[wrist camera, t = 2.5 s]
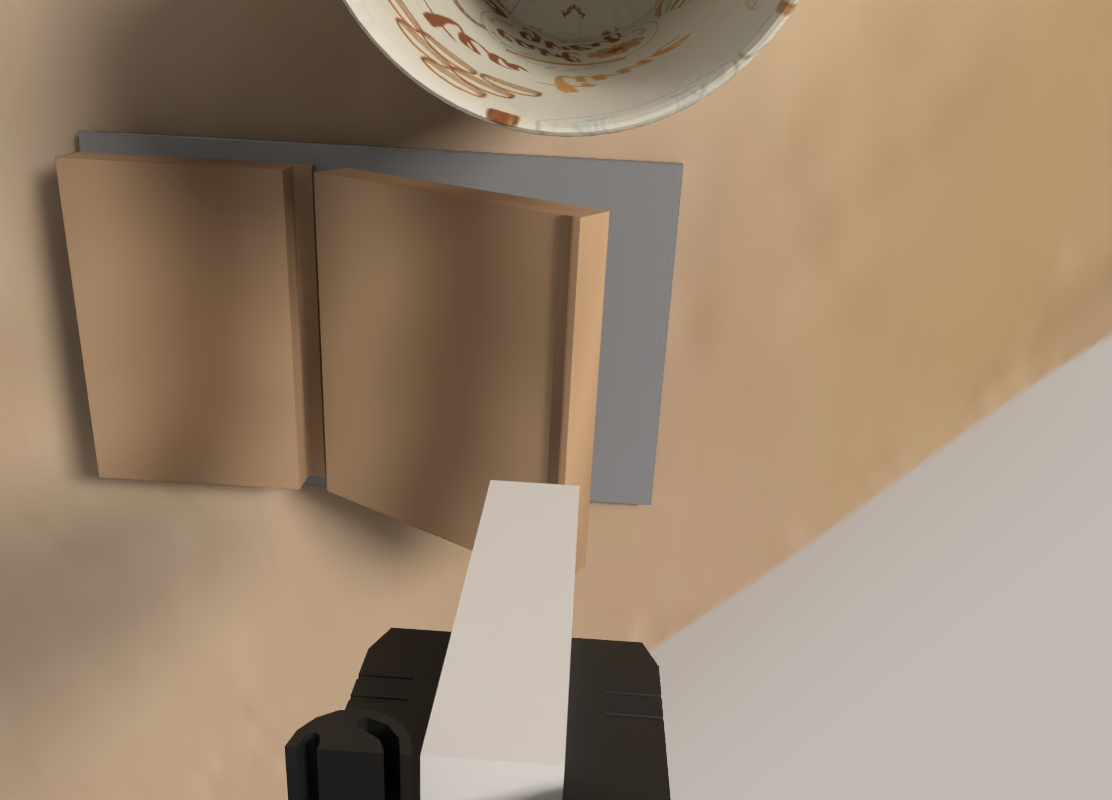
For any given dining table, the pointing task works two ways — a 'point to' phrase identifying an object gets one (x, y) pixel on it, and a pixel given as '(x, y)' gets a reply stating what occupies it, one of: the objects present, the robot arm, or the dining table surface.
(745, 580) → the dining table surface
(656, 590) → the dining table surface
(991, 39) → the dining table surface
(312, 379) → the laid plank
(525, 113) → the mug
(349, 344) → the plank
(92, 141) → the underlay
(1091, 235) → the dining table surface
